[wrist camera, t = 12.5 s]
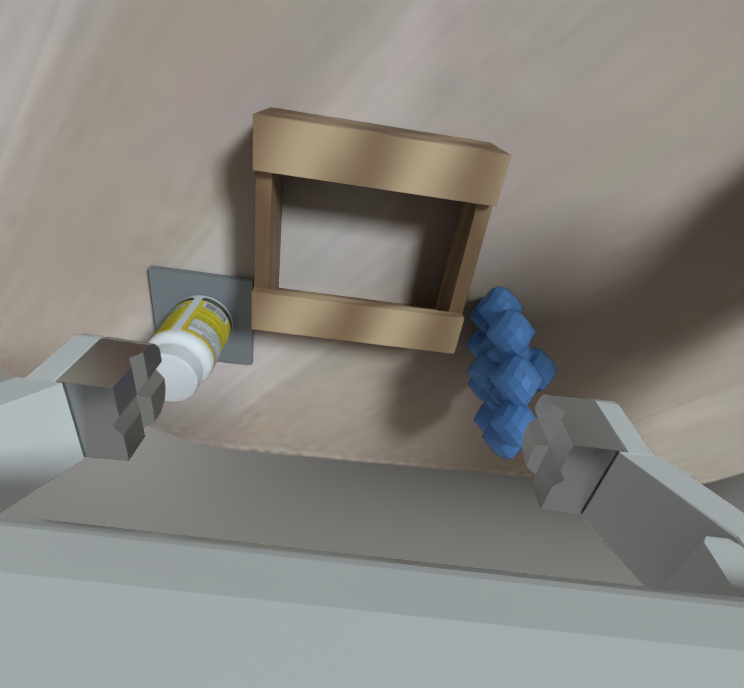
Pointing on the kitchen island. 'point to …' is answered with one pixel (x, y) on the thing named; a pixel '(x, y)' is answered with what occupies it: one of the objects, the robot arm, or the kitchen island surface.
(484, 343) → the grapes
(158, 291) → the slate pad
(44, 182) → the kitchen island surface
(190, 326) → the supplement bottle
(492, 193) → the crate
